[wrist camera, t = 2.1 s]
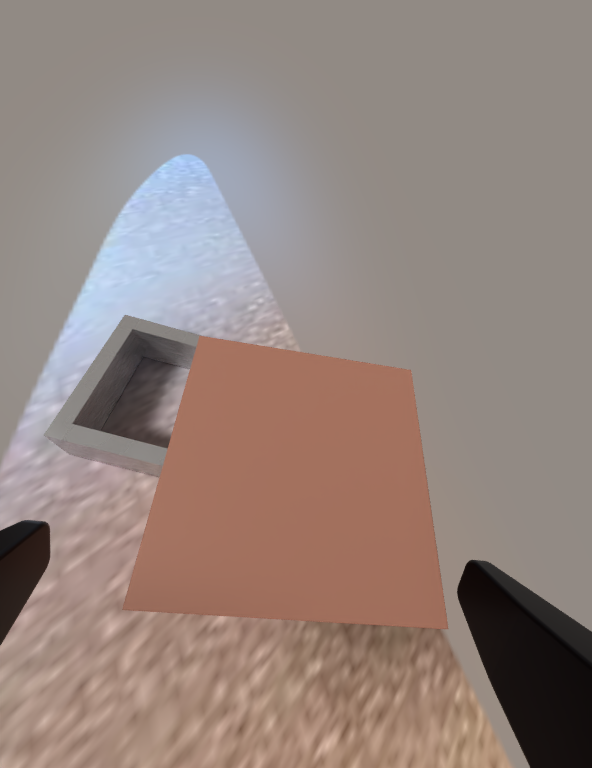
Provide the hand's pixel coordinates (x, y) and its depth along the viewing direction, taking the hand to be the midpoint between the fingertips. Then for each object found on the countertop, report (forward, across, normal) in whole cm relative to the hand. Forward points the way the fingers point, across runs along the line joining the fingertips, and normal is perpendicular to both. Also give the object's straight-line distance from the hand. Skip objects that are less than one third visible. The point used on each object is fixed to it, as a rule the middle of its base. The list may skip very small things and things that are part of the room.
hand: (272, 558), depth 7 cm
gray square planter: (+11, +5, +1) cm, 12 cm away
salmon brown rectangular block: (+7, 0, +6) cm, 9 cm away
